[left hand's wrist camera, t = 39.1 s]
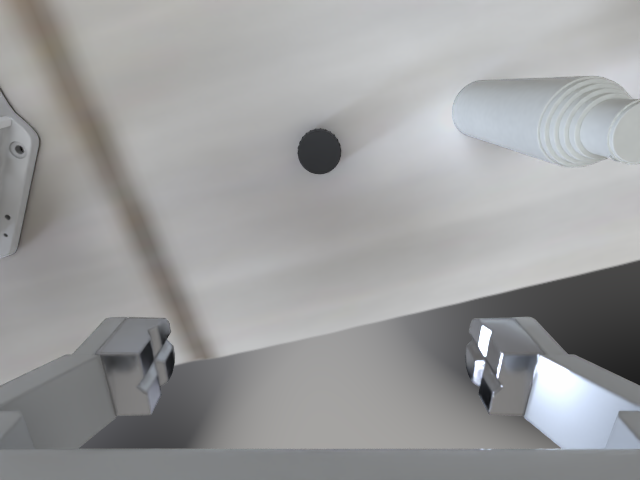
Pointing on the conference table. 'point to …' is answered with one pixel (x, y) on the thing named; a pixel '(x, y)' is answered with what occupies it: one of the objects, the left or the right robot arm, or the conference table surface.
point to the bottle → (553, 118)
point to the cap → (319, 151)
